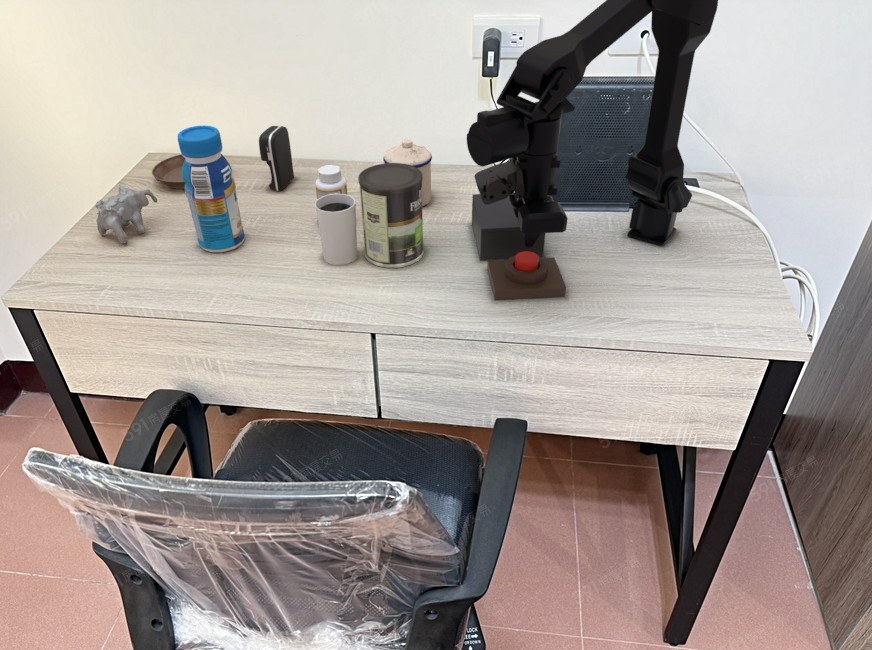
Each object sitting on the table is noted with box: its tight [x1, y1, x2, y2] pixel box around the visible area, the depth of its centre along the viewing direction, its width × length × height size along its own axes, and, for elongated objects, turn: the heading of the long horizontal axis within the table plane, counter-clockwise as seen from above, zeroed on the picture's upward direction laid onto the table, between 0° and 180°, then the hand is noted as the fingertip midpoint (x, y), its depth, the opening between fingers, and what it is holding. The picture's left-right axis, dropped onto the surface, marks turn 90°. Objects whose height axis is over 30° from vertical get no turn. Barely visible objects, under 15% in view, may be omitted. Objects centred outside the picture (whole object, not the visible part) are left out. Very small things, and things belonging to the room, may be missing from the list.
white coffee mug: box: [314, 194, 358, 266], centre depth 118 cm, size 7×7×10 cm
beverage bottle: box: [177, 125, 246, 253], centre depth 120 cm, size 8×8×20 cm
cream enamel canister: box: [371, 139, 433, 207], centre depth 134 cm, size 12×9×12 cm
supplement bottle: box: [315, 164, 348, 200], centre depth 128 cm, size 6×6×10 cm
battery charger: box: [258, 125, 295, 192], centre depth 141 cm, size 7×4×11 cm, turn 162°
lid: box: [471, 192, 521, 233], centre depth 119 cm, size 11×13×4 cm
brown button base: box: [486, 255, 567, 301], centre depth 112 cm, size 11×9×4 cm
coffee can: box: [357, 162, 424, 269], centre depth 117 cm, size 10×10×14 cm
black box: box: [471, 198, 546, 262], centre depth 122 cm, size 11×13×5 cm
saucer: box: [151, 153, 186, 190], centre depth 147 cm, size 15×15×3 cm
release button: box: [515, 251, 539, 272], centre depth 111 cm, size 4×4×2 cm
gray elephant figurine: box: [95, 185, 158, 244], centre depth 129 cm, size 9×12×8 cm
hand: (528, 246), depth 109 cm, fingers closed
